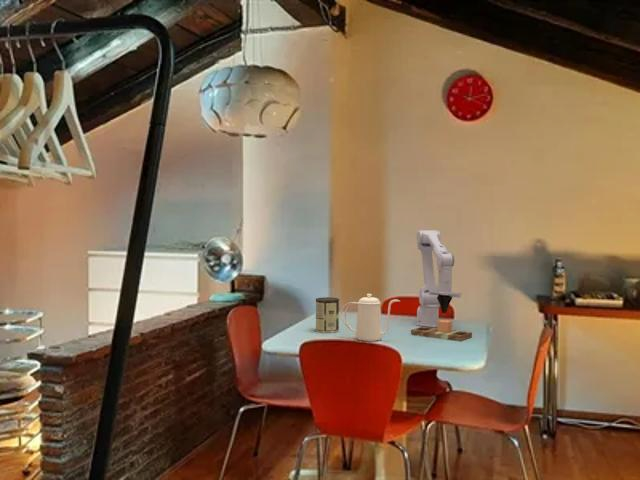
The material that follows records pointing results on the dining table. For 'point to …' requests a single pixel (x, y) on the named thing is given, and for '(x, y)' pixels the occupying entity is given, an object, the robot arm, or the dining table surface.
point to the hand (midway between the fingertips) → (444, 312)
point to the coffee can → (327, 315)
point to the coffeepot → (369, 319)
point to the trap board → (441, 334)
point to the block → (444, 326)
